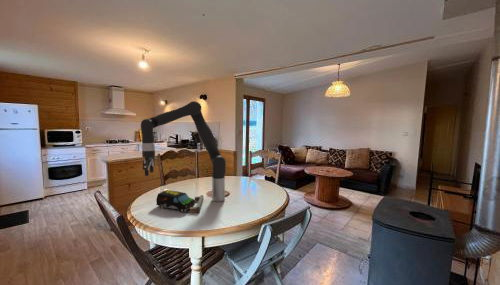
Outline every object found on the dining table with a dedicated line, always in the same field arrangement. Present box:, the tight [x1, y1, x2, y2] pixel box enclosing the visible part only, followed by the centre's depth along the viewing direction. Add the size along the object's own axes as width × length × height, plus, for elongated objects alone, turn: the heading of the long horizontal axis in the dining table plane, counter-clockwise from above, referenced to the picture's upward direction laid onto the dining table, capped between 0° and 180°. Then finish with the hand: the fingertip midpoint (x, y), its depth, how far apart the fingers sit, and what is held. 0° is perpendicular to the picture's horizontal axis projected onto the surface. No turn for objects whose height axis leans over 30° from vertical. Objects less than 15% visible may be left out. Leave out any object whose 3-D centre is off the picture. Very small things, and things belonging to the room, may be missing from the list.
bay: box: [189, 194, 204, 214], centre depth 140 cm, size 6×21×4 cm, turn 6°
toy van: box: [155, 189, 196, 214], centre depth 138 cm, size 11×25×10 cm, turn 70°
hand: (149, 174), depth 135 cm, fingers open, 8 cm apart
